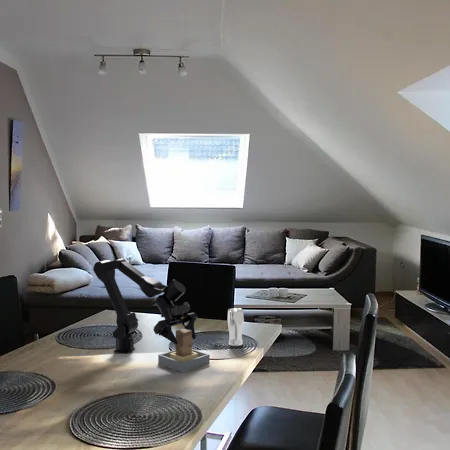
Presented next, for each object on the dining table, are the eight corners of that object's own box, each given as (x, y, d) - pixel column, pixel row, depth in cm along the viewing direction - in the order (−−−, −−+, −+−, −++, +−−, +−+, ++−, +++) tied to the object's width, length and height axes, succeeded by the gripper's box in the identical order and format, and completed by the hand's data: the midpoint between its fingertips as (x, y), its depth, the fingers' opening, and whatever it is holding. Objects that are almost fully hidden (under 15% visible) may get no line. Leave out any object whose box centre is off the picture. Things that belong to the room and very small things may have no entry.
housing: (158, 363, 211) (158, 353, 211) (185, 354, 221) (185, 345, 221) (182, 372, 201) (182, 362, 201) (209, 363, 211) (209, 353, 211)
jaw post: (175, 361, 211) (175, 330, 210) (184, 358, 214) (184, 328, 213) (183, 363, 208) (183, 333, 207) (192, 360, 211) (191, 330, 210)
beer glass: (242, 347, 231) (242, 312, 230) (226, 345, 232) (226, 311, 231) (244, 342, 238) (245, 308, 236) (229, 341, 239) (229, 307, 238)
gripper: (157, 300, 205) (177, 335, 198) (194, 292, 218) (213, 324, 212) (145, 317, 211) (163, 351, 204) (181, 308, 224) (199, 340, 218)
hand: (186, 341), depth 209 cm, fingers open, 9 cm apart
